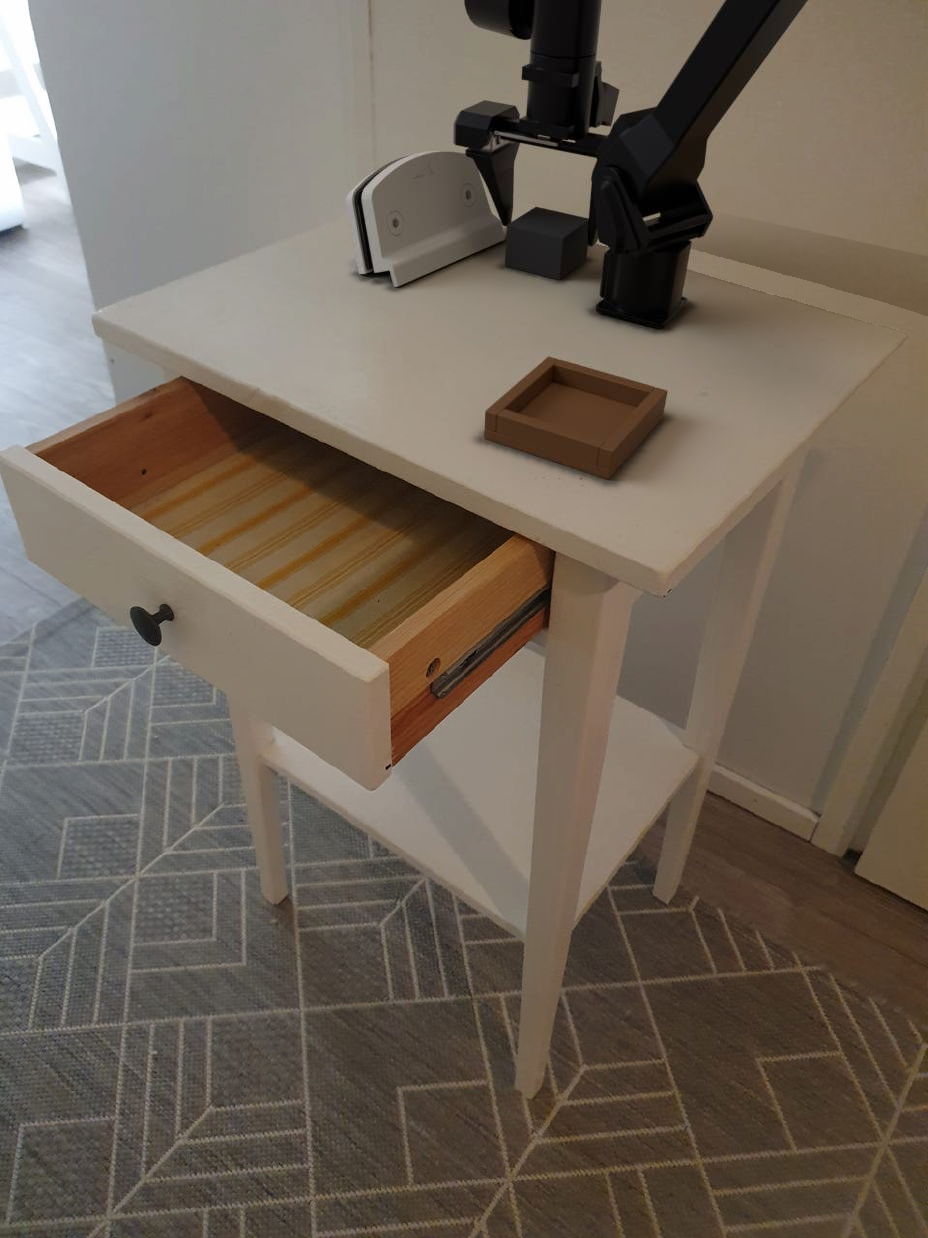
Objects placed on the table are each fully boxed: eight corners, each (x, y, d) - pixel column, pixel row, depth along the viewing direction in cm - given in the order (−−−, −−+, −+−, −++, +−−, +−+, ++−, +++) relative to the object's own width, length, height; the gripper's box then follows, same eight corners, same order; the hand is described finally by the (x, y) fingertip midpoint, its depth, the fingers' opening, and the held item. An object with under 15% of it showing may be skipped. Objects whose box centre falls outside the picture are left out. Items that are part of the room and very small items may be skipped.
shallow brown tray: (663, 417, 74) (668, 390, 72) (608, 479, 67) (612, 451, 66) (545, 382, 77) (548, 355, 76) (483, 438, 71) (484, 410, 69)
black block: (586, 259, 96) (591, 218, 93) (559, 280, 92) (563, 237, 89) (533, 246, 98) (535, 205, 96) (504, 266, 94) (506, 224, 92)
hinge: (395, 287, 90) (364, 172, 85) (361, 290, 93) (330, 179, 88) (507, 238, 99) (485, 131, 95) (473, 242, 102) (450, 139, 98)
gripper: (700, 48, 85) (670, 229, 95) (512, 20, 91) (504, 192, 102) (650, 73, 77) (625, 266, 88) (451, 42, 84) (449, 224, 95)
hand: (548, 234), depth 93 cm, fingers open, 9 cm apart
